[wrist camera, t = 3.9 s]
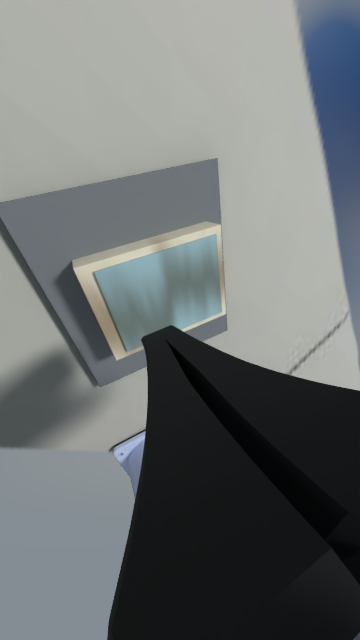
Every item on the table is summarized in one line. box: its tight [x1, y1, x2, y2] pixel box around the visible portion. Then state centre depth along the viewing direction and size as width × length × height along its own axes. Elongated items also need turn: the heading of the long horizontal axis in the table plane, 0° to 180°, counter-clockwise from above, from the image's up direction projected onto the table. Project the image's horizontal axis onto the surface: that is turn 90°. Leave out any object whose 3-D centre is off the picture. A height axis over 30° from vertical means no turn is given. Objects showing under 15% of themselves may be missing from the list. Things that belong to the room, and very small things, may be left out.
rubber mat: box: [0, 158, 227, 387], centre depth 14 cm, size 12×11×1 cm
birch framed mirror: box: [72, 222, 226, 360], centre depth 13 cm, size 6×2×8 cm
